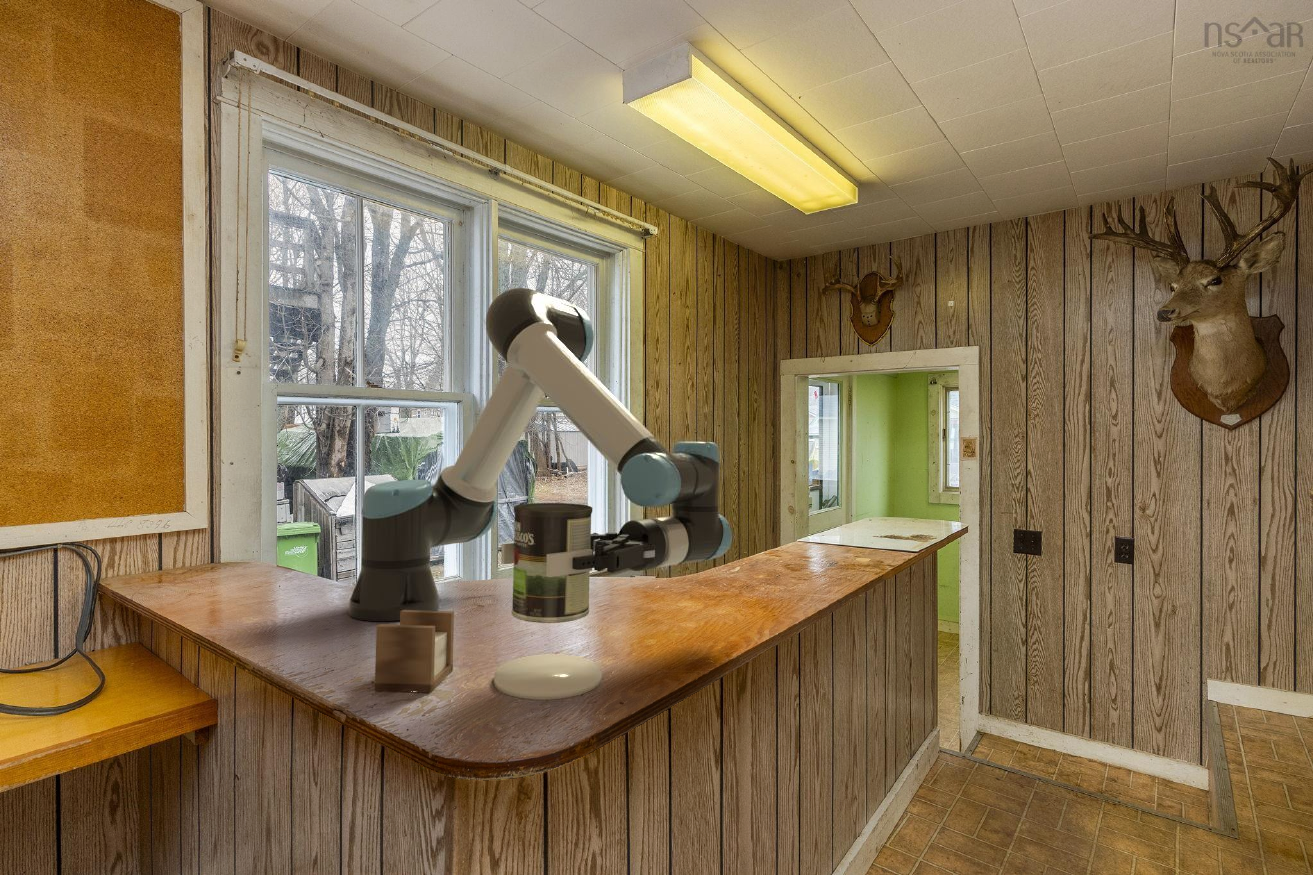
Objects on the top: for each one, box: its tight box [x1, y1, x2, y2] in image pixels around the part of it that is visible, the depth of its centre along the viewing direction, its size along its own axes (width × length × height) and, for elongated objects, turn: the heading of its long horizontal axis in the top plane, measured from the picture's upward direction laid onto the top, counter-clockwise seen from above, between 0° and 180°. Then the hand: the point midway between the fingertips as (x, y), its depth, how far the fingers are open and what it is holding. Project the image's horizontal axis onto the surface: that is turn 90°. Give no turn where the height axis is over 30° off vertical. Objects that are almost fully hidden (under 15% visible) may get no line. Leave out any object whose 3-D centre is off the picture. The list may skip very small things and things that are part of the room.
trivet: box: [493, 653, 603, 701], centre depth 86 cm, size 14×14×1 cm
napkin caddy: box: [374, 610, 455, 693], centre depth 84 cm, size 7×8×8 cm
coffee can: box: [511, 502, 593, 624], centre depth 86 cm, size 10×10×14 cm
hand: (524, 559), depth 83 cm, fingers closed on coffee can, 10 cm apart
